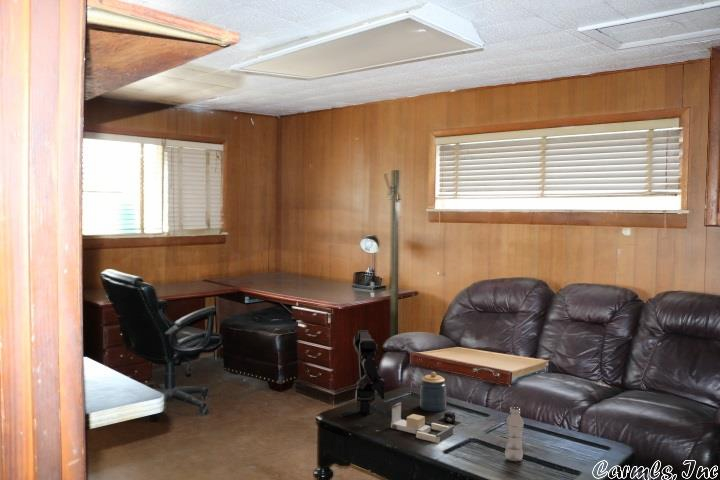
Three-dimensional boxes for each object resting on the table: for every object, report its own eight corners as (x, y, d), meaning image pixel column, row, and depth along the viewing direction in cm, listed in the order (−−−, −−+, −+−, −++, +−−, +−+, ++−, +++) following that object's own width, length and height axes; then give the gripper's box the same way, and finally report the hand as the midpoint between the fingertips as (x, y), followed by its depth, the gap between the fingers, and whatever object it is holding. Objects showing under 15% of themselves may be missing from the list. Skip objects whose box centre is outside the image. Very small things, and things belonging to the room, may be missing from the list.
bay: (416, 437, 252) (416, 430, 252) (432, 428, 264) (432, 420, 264) (438, 443, 246) (438, 435, 246) (454, 433, 258) (454, 425, 258)
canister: (415, 404, 298) (416, 369, 297) (440, 402, 301) (440, 368, 300) (424, 412, 285) (425, 376, 285) (450, 411, 288) (450, 374, 288)
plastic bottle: (502, 456, 233) (503, 406, 232) (519, 456, 233) (520, 405, 233) (508, 463, 226) (509, 411, 226) (525, 463, 227) (526, 411, 226)
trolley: (389, 428, 263) (390, 406, 263) (400, 423, 270) (400, 401, 270) (421, 436, 254) (422, 413, 254) (431, 430, 261) (431, 408, 261)
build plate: (465, 423, 272) (465, 413, 272) (457, 428, 266) (457, 417, 266) (441, 417, 280) (442, 408, 279) (433, 421, 274) (433, 412, 274)
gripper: (351, 371, 281) (364, 401, 281) (356, 377, 262) (369, 410, 262) (373, 361, 282) (385, 392, 282) (379, 367, 264) (392, 400, 264)
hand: (383, 398), depth 273 cm, fingers closed
